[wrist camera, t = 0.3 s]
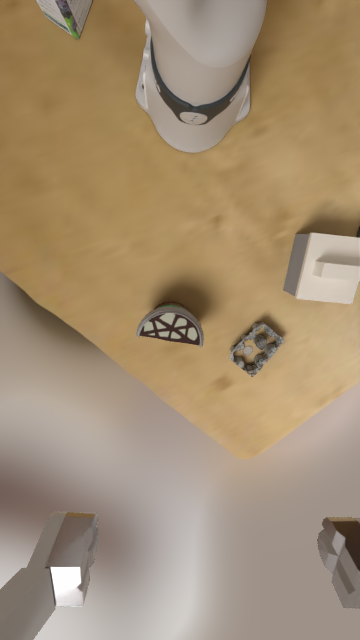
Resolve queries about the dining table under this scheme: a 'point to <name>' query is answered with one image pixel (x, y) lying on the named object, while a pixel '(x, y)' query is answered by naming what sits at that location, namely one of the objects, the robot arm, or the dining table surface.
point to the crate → (296, 263)
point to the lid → (330, 269)
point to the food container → (171, 324)
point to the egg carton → (261, 344)
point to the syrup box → (67, 14)
